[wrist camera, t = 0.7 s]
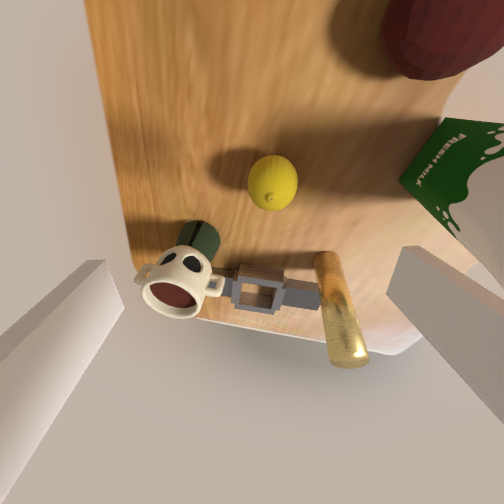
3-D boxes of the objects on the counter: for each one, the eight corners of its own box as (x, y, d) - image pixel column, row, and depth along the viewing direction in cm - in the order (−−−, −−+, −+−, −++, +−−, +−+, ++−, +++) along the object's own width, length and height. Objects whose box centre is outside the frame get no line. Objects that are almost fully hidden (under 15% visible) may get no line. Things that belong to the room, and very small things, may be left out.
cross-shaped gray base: (196, 255, 38) (190, 267, 36) (328, 276, 38) (331, 290, 36) (198, 289, 44) (193, 301, 42) (312, 308, 44) (314, 321, 42)
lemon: (260, 196, 30) (254, 229, 24) (244, 156, 27) (233, 181, 21) (300, 183, 28) (306, 215, 22) (289, 139, 25) (291, 161, 19)
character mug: (237, 222, 33) (218, 288, 23) (234, 257, 38) (216, 325, 28) (165, 210, 33) (115, 271, 23) (170, 247, 38) (130, 311, 28)
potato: (386, -43, 17) (427, -88, 12) (535, -51, 16) (642, -102, 11) (357, 79, 21) (379, 82, 17) (471, 79, 20) (528, 81, 16)
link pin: (317, 249, 35) (337, 348, 22) (343, 253, 34) (376, 354, 22) (310, 267, 37) (324, 365, 25) (333, 271, 37) (359, 370, 25)
